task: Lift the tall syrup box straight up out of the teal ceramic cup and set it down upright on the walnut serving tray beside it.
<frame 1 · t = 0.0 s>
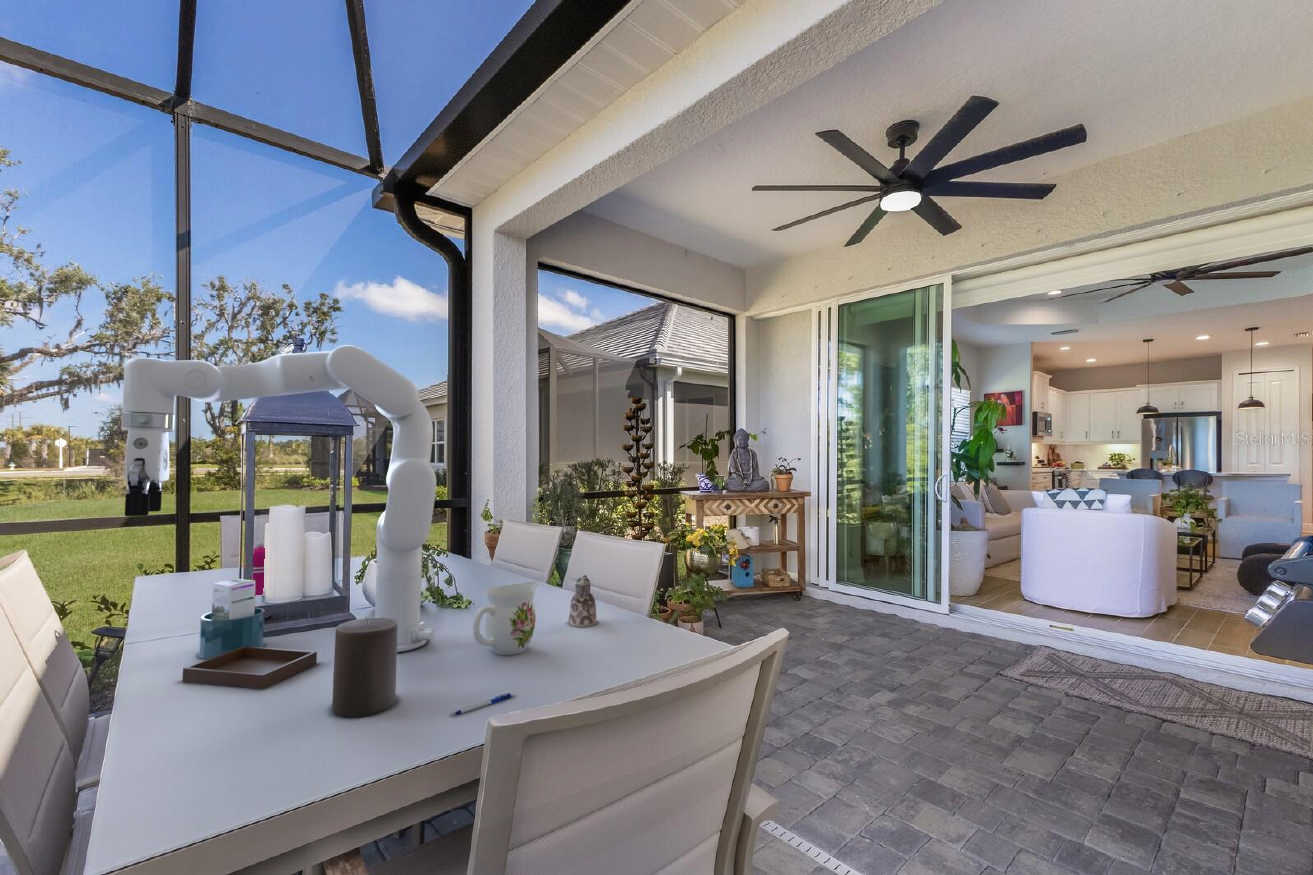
hand: (143, 513, 108), 31 cm above the table, tool pointing down, fingers open, 9 cm apart
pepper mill: (257, 618, 150), on the table
pillar candle: (364, 706, 98), on the table
syrup box: (231, 649, 124), resting on cup
tray: (252, 672, 112), on the table
cup: (231, 650, 124), on the table
figurine: (582, 623, 150), on the table
ballpoint pen: (484, 707, 99), on the table
pitcher: (506, 652, 127), on the table
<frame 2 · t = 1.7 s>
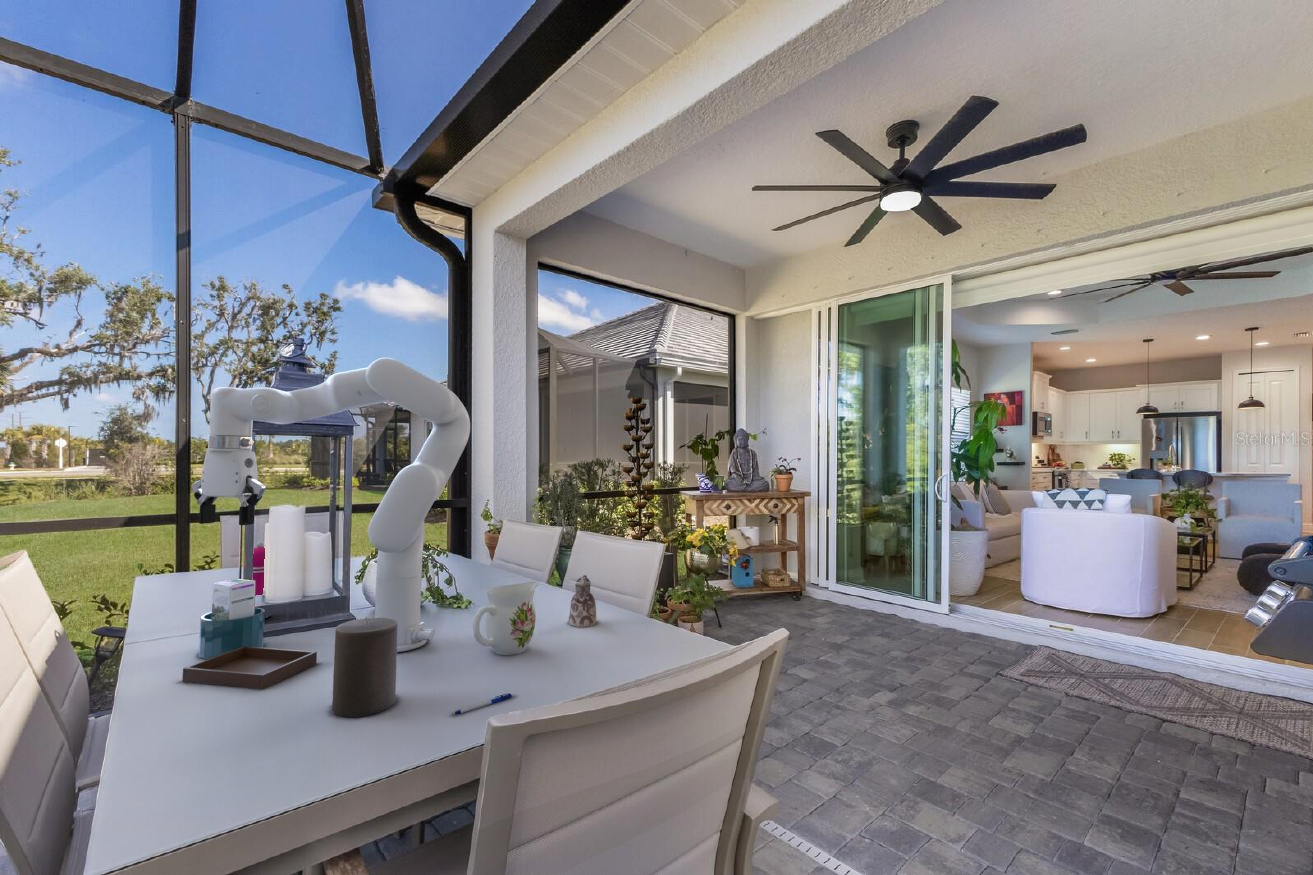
hand: (226, 523, 123), 28 cm above the table, tool pointing down, fingers open, 9 cm apart
nothing on the table moved.
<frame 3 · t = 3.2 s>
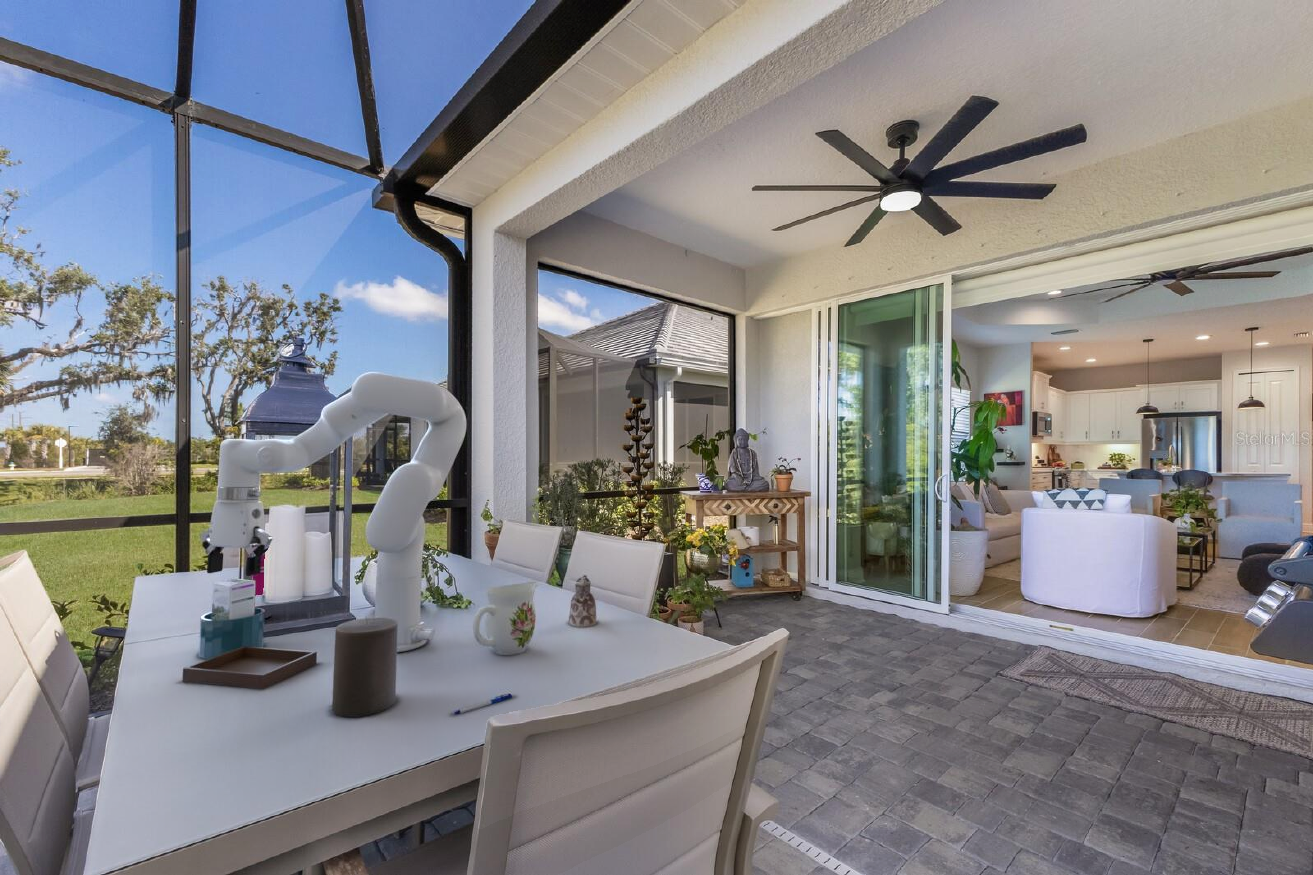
hand: (233, 573, 125), 17 cm above the table, tool pointing down, fingers open, 9 cm apart
nothing on the table moved.
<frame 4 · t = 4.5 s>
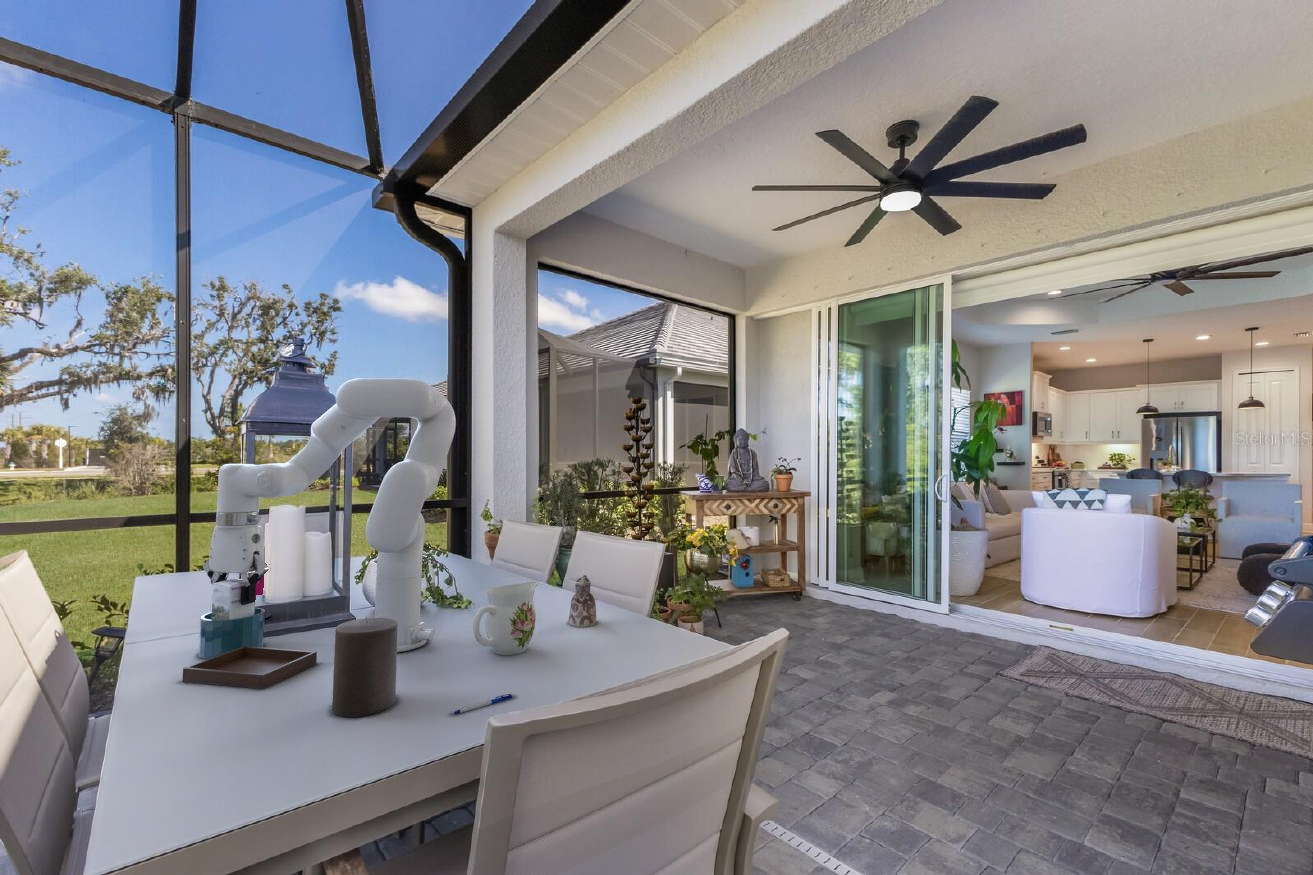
hand: (234, 601, 125), 11 cm above the table, tool pointing down, fingers closed on syrup box, 6 cm apart
syrup box: (231, 649, 124), resting on cup, touching gripper
everything else where it was.
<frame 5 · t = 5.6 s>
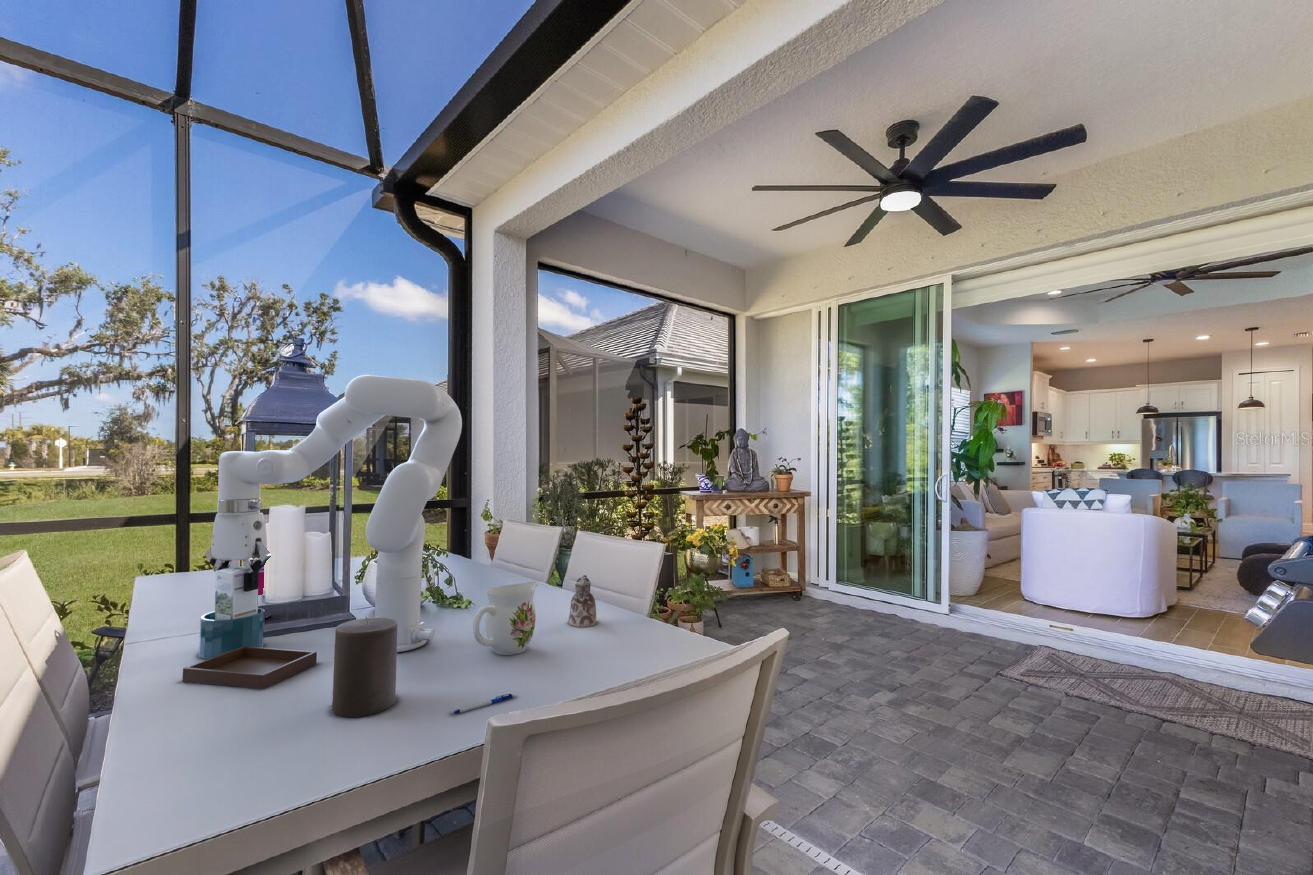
hand: (237, 589, 125), 13 cm above the table, tool pointing down, fingers closed on syrup box, 6 cm apart
syrup box: (236, 636, 125), point 3 cm above the table, touching gripper
everything else where it was.
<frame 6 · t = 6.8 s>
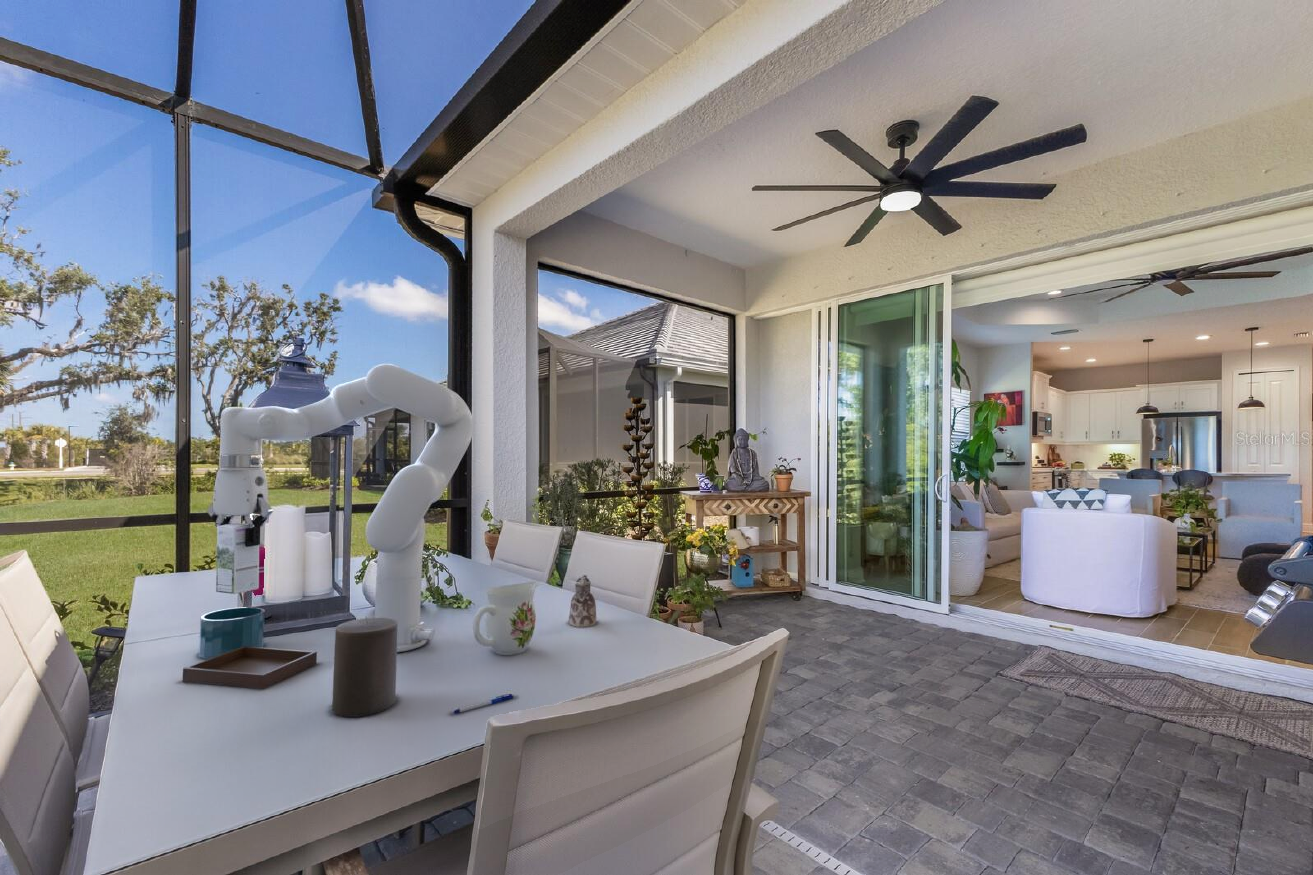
hand: (238, 544, 125), 23 cm above the table, tool pointing down, fingers closed on syrup box, 6 cm apart
syrup box: (237, 591, 125), point 13 cm above the table, touching gripper
everything else where it was.
when the fingers open (10 cm above the table, at t = 13.2 s): syrup box stays where it is, resting on tray.
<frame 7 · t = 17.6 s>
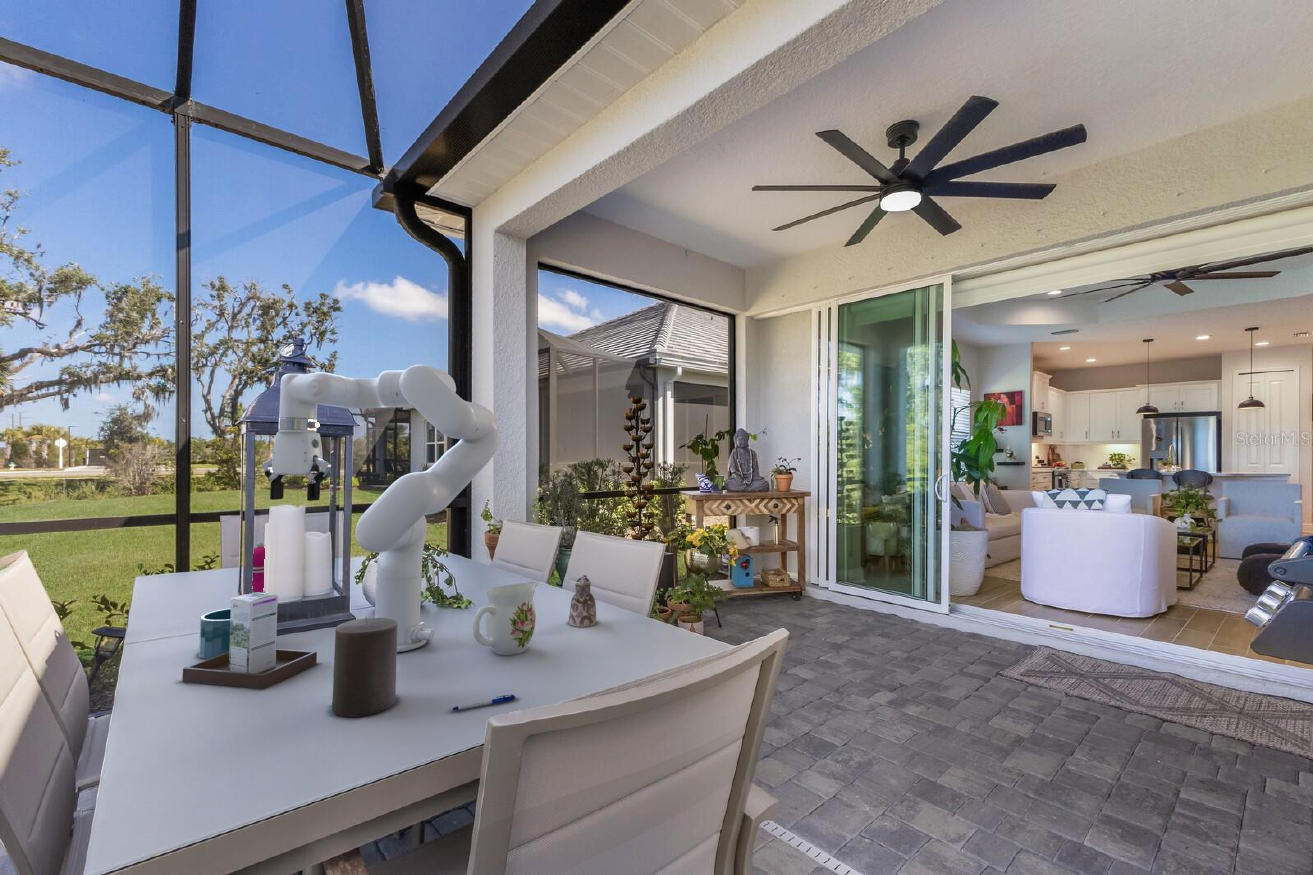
hand: (294, 499, 134), 32 cm above the table, tool pointing down, fingers open, 9 cm apart
syrup box: (252, 671, 112), resting on tray
at the end: syrup box inside the target area in the tray (0.0 cm from its centre), point 0.3 cm above the tray's base; syrup box tilted 0°; syrup box touching tray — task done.
